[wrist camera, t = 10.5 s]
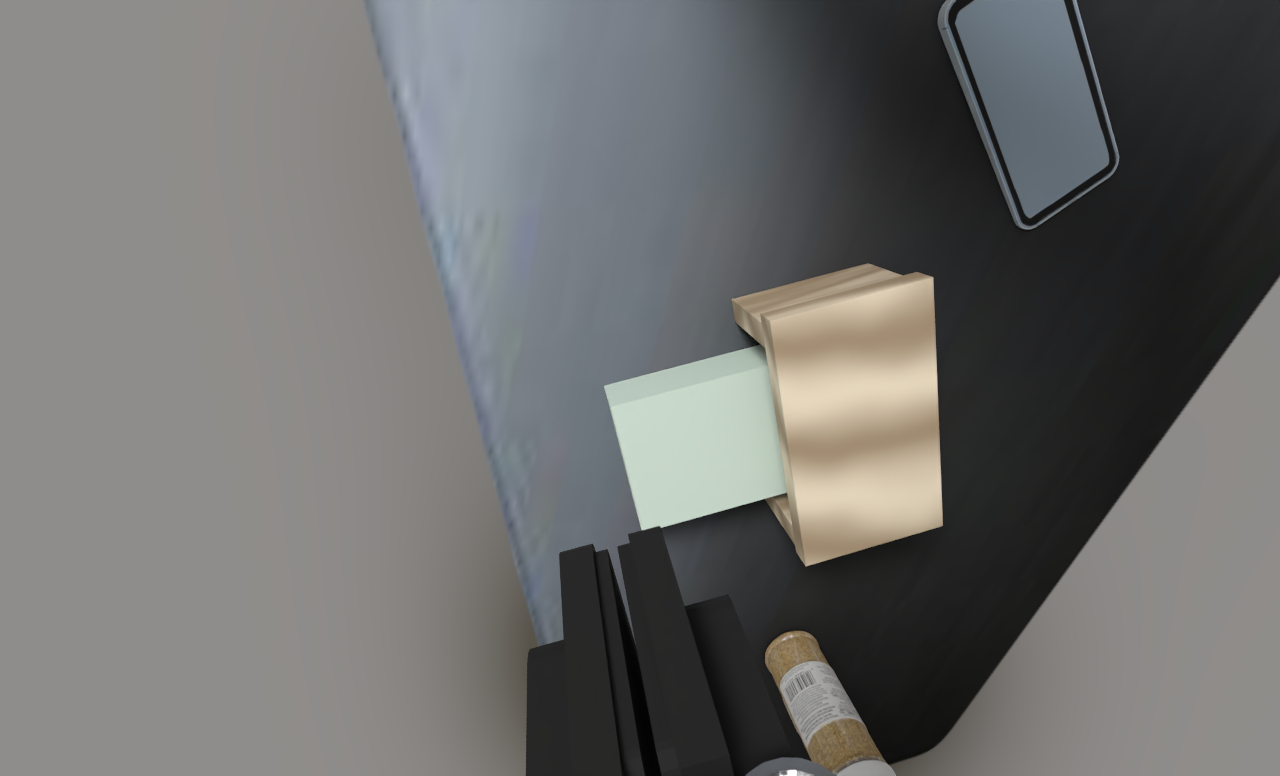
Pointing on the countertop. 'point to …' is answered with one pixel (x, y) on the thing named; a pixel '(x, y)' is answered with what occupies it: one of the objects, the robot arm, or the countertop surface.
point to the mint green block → (699, 437)
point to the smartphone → (1032, 99)
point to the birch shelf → (852, 406)
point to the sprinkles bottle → (822, 708)
